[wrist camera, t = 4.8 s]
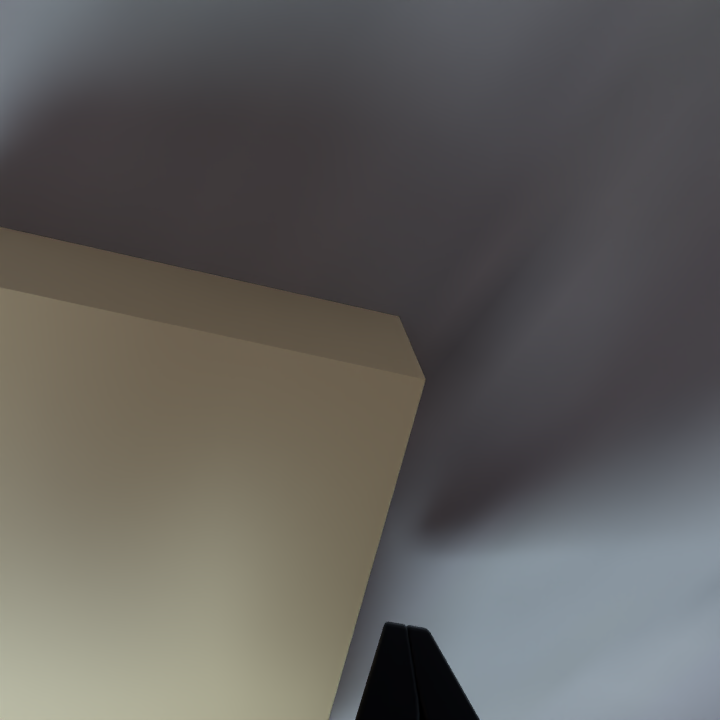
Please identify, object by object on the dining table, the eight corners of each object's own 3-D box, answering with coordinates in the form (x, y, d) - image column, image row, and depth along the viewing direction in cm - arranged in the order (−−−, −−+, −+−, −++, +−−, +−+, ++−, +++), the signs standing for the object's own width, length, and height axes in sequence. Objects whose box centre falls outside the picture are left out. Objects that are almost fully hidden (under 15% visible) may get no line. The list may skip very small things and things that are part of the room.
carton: (396, 311, 8) (427, 382, 4) (292, 727, 11) (252, 989, 7) (-23, 216, 7) (-455, 192, 4) (0, 677, 11) (-208, 925, 7)
